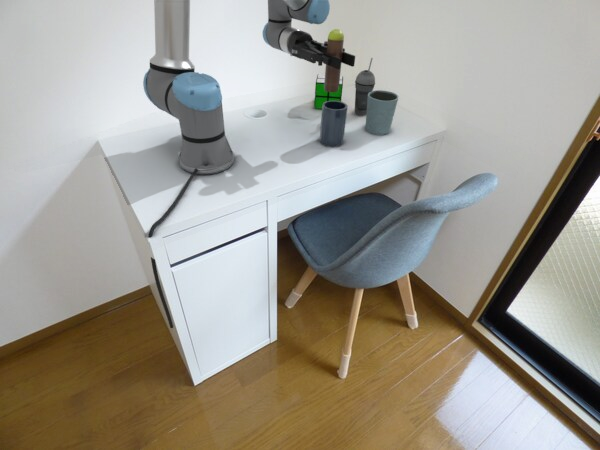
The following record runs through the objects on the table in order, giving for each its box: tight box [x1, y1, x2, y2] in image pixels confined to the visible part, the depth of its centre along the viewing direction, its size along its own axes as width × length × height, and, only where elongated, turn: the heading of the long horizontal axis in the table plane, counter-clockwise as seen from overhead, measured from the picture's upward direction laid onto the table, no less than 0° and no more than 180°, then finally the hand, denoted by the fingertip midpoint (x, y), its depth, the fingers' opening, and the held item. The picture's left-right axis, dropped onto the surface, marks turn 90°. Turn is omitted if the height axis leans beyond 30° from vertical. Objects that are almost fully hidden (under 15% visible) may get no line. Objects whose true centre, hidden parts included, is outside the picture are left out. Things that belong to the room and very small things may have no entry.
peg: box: [324, 28, 345, 92], centre depth 103 cm, size 4×4×16 cm
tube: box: [319, 101, 349, 148], centre depth 115 cm, size 8×8×12 cm
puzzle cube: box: [313, 74, 344, 110], centre depth 140 cm, size 10×10×10 cm
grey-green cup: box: [364, 89, 399, 136], centre depth 124 cm, size 10×10×12 cm
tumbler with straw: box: [354, 57, 376, 117], centre depth 131 cm, size 7×7×20 cm
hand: (346, 62), depth 99 cm, fingers closed on peg, 4 cm apart
